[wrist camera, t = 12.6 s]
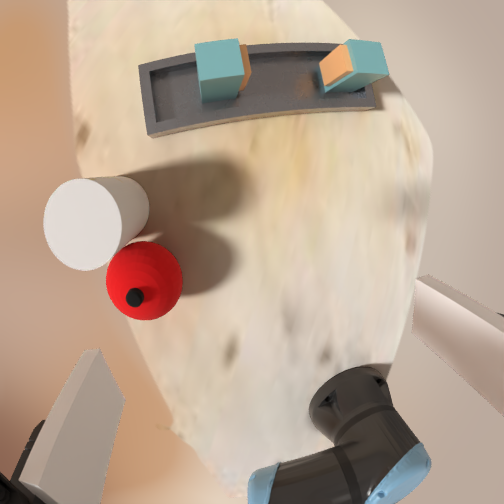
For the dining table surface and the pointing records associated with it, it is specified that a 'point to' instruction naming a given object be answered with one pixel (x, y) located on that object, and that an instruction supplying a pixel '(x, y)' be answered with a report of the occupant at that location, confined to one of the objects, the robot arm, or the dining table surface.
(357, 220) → the dining table surface
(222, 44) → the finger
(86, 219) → the cup
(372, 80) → the block
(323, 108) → the rail
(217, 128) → the dining table surface
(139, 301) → the ornament
